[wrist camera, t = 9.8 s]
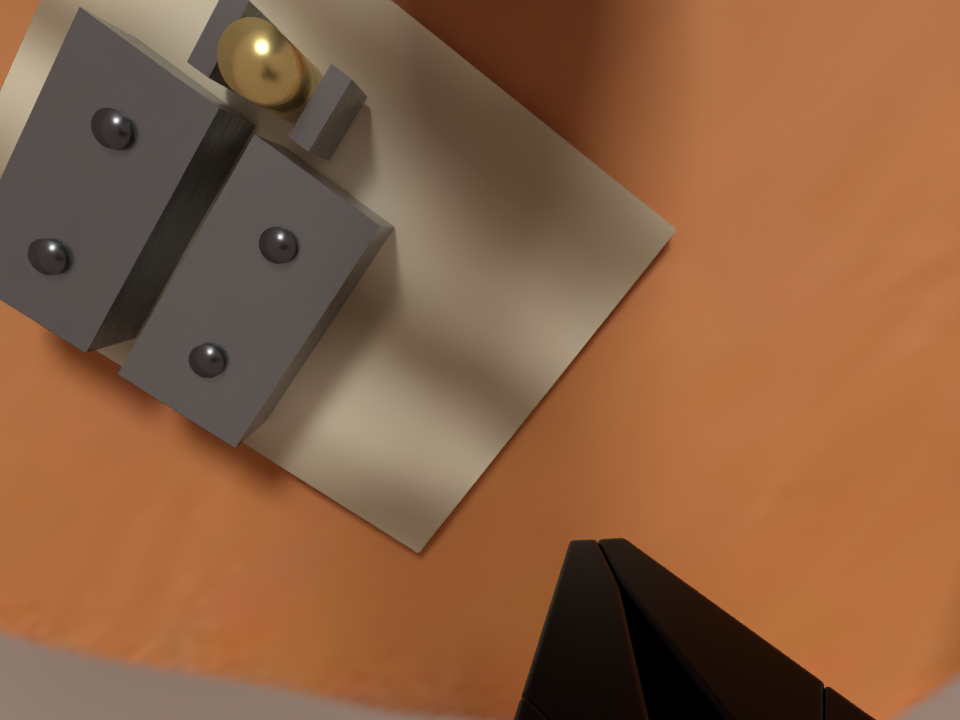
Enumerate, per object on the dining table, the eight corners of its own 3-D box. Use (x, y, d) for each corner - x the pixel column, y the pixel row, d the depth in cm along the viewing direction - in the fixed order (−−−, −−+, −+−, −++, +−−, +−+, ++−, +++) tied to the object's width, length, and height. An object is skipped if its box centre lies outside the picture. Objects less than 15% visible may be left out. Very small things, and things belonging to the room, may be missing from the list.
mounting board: (146, -191, 15) (132, -208, 15) (671, 229, 18) (677, 229, 18) (-51, 246, 19) (-69, 246, 18) (420, 544, 21) (418, 553, 21)
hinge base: (342, 78, 17) (309, 42, 13) (173, 362, 19) (112, 388, 16) (179, -47, 16) (104, -115, 13) (24, 267, 18) (-71, 274, 15)
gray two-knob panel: (442, 155, 17) (435, 142, 15) (265, 422, 19) (232, 450, 17) (331, 70, 16) (303, 40, 14) (162, 356, 19) (113, 375, 16)
